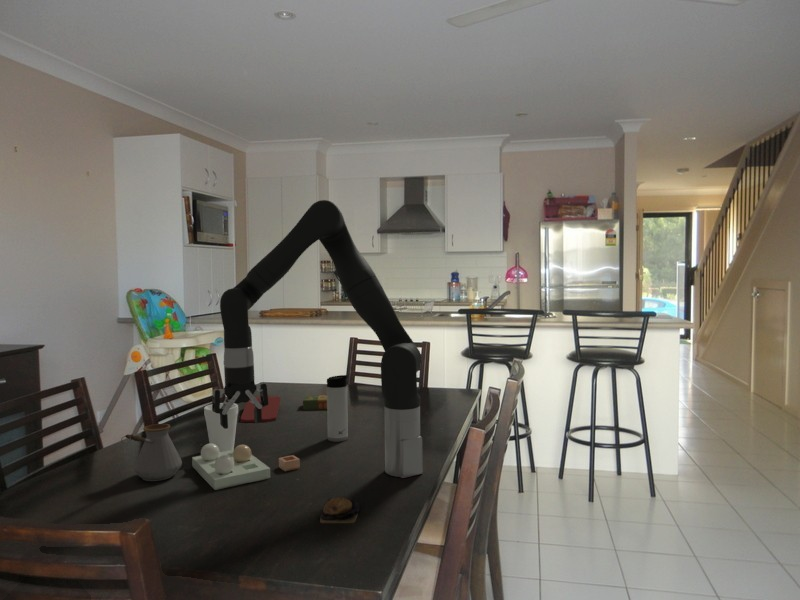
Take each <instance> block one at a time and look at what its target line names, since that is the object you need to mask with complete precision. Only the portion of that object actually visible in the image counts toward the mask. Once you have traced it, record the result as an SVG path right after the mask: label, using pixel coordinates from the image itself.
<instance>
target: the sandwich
mask: <svg viewBox="0 0 800 600" xmlns="http://www.w3.org/2000/svg"><path fill="white" fill-rule="evenodd" d="M360 510H361V504H360V503H359V502H358V501H356V499H348V498H345V497H334V498H328V499H327V501H326V503H325V505H324V506H323V509H322V510H321V511H320V512H319V513H318V516H319V519H320V520H319V523H320V524H355V522H356V521H357V518H358V515H359V513H360Z"/></svg>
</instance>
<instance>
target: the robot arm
mask: <svg viewBox="0 0 800 600" xmlns="http://www.w3.org/2000/svg"><path fill="white" fill-rule="evenodd" d="M318 241H320V243H321V244H322V246H323V247H324V249H325V251H326V252H327V253H328V255H329V257H330V258H331V260H332V263H333V265H334V268H335V269H334V270H335V271H336V274H337V277H338V280H339V282H340V285H341V287H342V289H343V291H344V292H345V293H344V294H345V296H346V298H347V299H348V301H349V303H350V305H352V306H351V307H353V310H355V312H356V313H357V314H358V315H359V316H360V318H361V319H362V320H363V321H364V323H366V325H368V327H370V329H371V330H372V331H373V332H374V333H375V335H376V337H377V338H378V340H379V342H380V344H381V347H382V349H383V350H384V352H383V354H382V357H381V362H380V378H381V379H380V380H381V394H382V397H383V406H384V407H383V409H384V419H383V420H384V421H383V422H384V465H385V466H384V471H385V473H386V474H387V475H389V476H392V477H396V478H397V477H399V478H401V479H405V478H410V477H413V476H418V475H421V474H423V472H424V471H423V437H422V436H421V396H420V394H419V393H418V383H417V382H418V381H417V380H418V378H417V377H418V376H417V373H418V372H419V370H420V369H421V366H422V363H423V362H422V360H423V359H422V354H421V352H420V350H419V348H418V347H417V345H416V343H415V342H414V341H413V339H412V338H411V337H410V335H409V334H408V332H407V331H406V329H404V326H403V325H402V323H401V321H400V320H399V318H398V316H397V313H396V312H395V309H394V307H393V305H392V304H391V301H390V299H389V298H388V296H387V294H386V292H385V290H384V288H383V286H382V285H381V283H380V280H379V279H378V277H377V275H376V273H375V272H374V269H372V267H371V266H370V264H369V263H368V261H367V260H366V259H365V258H364V255H362V253H361V252H360V250H359V249H358V248H357V246H356V245H355V243H354V240H353V238H352V236H351V233H350V232H349V229H348V226H347V223H346V222H345V219H344V215H343V213H342V211H341V210H340V209H339V207H338V206H337V204H335V203H334V202H332V201H330V200H328V199H321V200H317V201H316V202H313V203H312V204H311V205H310V206H309V208H308V209H307V210H306V212H304V214H303V216H302V217H301V218H300V219H299V220H298V222H297V223H296V225H294V227H293V228H292V229H291V230H290V232H288V233H287V235H286V236H285V237H284V238H283V239H281V241H280V242H278V243H277V245H275V247H274V248H273V249H272V250H271V251H270V252H269V253H267V254H266V255H265V256H264V257H263V258H261V259H260V261H258V262H257V263H256V264H255V265H254V266H253V267H252V268H251V269H250V270H249V271H248V272H247V274H246V277H244V278H243V279H242V280H241V281H240V282H239V283H238V284H236V285H235V286H234V287H233V288H229V289H226V290H225V291H224V292H223V293H222V295H221V296H220V302H219V309H220V316H221V317H220V318H221V323H222V327H223V347H224V349H223V350H224V351H223V370H224V373H223V374H224V387H223V388H220V389H217V388H213V390H212V393H211V395H212V398H211V399H212V400H211V401H212V411H213V412H215V413H219V414H220V424H221V426H222V427H223V428H224V429H227V428H228V416H227V414H226V413H227V412H228V410H229V409H230V408H231V407H232V405H233V404H237V405H238V404H241V403H247V402H248V401H250V402H251V403H252V404H253V405H254V406H255V408H254V421H255V422H254V423H255V424H260V423H261V422H260V421H261V419H262V413H261V409H262V407H264V406H267V405H268V396H269V395H268V387H267V386H268V385H267V384H266V383H265V382H259V383H257V384H256V383H255V363H254V351H253V339H252V337H253V336H252V329H251V326H250V324H249V310H250V309H251V308H252V307H253V306H254V305H255V304H256V303H257V302H258V301H259V300H260V299H261V298H262V296H263V295H264V294H265V293H267V292H268V291H269V290H270V289H272V288H273V287H274V286H275V285H276V284H277V283H278V282H279V281H280V280H281V279H282V278H284V277H285V275H286V274H287V273H289V271H290V270H291V269H292V267H294V265H295V263H296V262H297V261H298V259H299V258H300V257H301V256H302V255H303V254H304V252H306V250H307V249H309V247H311V246H312V245H313V244H314V243H316V242H318ZM256 391H257V392H259V397H260V399H261V402H258V400H257V399H256V398H255V397H256V396H254V394H255V392H256ZM223 394H224V395H225V396H226V398H225V399H224V401H223V402H222V403H223V405H222V407H221V408H220V403H221V398H222V397H223Z"/></svg>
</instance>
